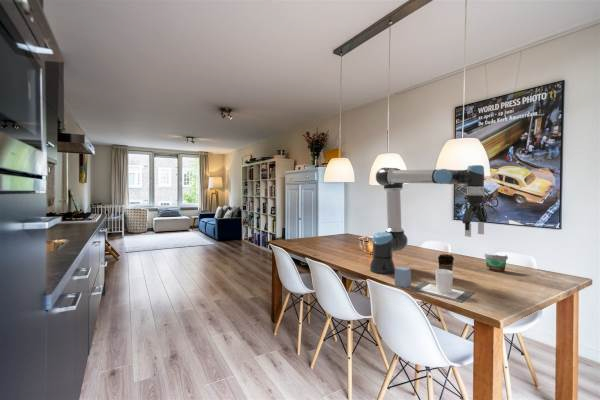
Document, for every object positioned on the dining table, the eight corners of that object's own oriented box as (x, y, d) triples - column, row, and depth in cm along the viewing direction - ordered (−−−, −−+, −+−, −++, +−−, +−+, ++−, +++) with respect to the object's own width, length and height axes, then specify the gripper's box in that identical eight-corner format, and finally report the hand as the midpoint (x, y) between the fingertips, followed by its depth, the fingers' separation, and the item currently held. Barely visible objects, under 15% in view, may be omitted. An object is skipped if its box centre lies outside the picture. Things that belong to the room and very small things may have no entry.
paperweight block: (394, 285, 154) (394, 268, 154) (400, 282, 158) (400, 266, 158) (405, 287, 150) (405, 270, 150) (410, 285, 154) (410, 268, 154)
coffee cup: (456, 280, 162) (456, 257, 161) (440, 279, 163) (440, 256, 163) (451, 275, 170) (451, 253, 170) (436, 275, 172) (436, 253, 172)
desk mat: (410, 289, 147) (410, 289, 147) (425, 281, 159) (425, 281, 159) (462, 302, 130) (462, 302, 130) (474, 292, 142) (474, 292, 142)
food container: (486, 271, 179) (486, 255, 179) (484, 268, 185) (484, 253, 184) (510, 273, 174) (510, 256, 174) (507, 270, 180) (507, 254, 180)
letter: (419, 289, 146) (419, 289, 146) (429, 283, 155) (429, 283, 155) (455, 298, 134) (455, 298, 134) (464, 291, 143) (464, 291, 143)
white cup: (445, 295, 138) (446, 274, 138) (431, 290, 145) (431, 270, 145) (456, 292, 142) (456, 272, 142) (442, 287, 149) (442, 268, 149)
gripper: (470, 195, 142) (469, 238, 143) (494, 194, 156) (493, 234, 157) (455, 195, 149) (454, 236, 149) (479, 194, 162) (478, 232, 163)
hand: (474, 235), depth 153 cm, fingers open, 13 cm apart
